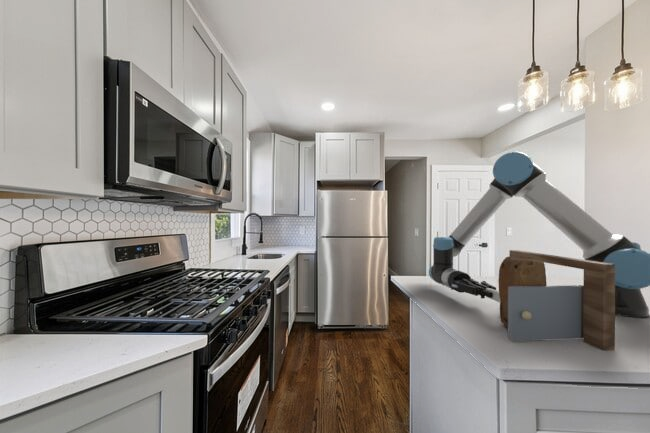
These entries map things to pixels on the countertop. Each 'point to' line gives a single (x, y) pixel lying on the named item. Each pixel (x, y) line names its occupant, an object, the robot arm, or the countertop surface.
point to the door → (545, 312)
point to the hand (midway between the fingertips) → (503, 298)
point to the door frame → (590, 297)
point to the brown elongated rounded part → (518, 278)
